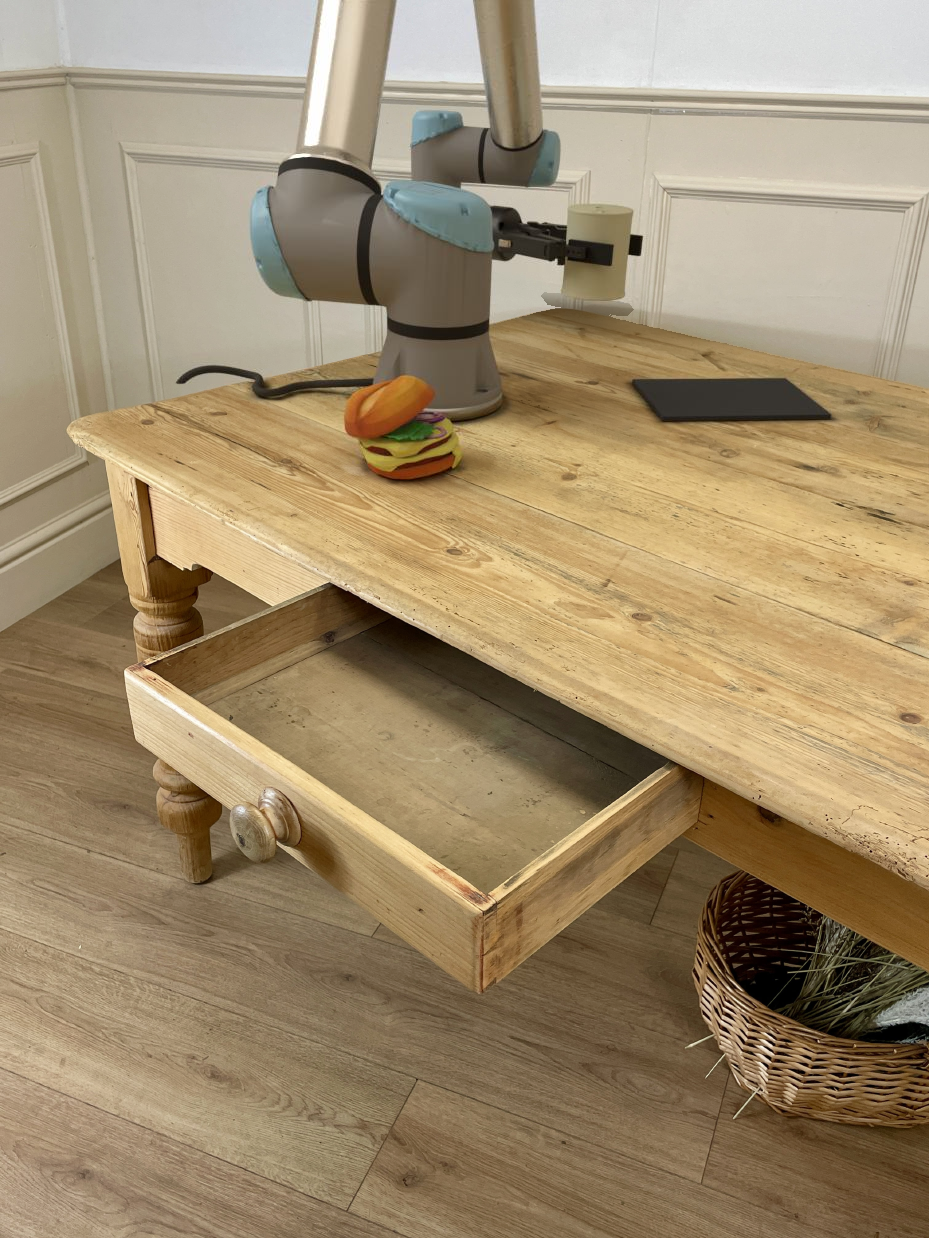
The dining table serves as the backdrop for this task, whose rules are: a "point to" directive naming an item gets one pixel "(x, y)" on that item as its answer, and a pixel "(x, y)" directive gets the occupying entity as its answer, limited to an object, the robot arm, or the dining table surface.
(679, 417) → the placemat
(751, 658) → the dining table surface
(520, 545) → the dining table surface
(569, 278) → the can
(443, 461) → the cheeseburger
